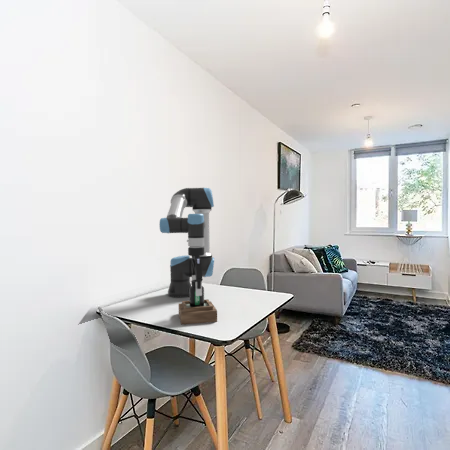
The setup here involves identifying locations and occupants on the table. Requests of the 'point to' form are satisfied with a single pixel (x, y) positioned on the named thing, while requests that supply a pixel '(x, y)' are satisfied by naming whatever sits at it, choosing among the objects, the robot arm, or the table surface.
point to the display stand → (197, 313)
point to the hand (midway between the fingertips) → (196, 292)
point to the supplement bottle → (195, 300)
